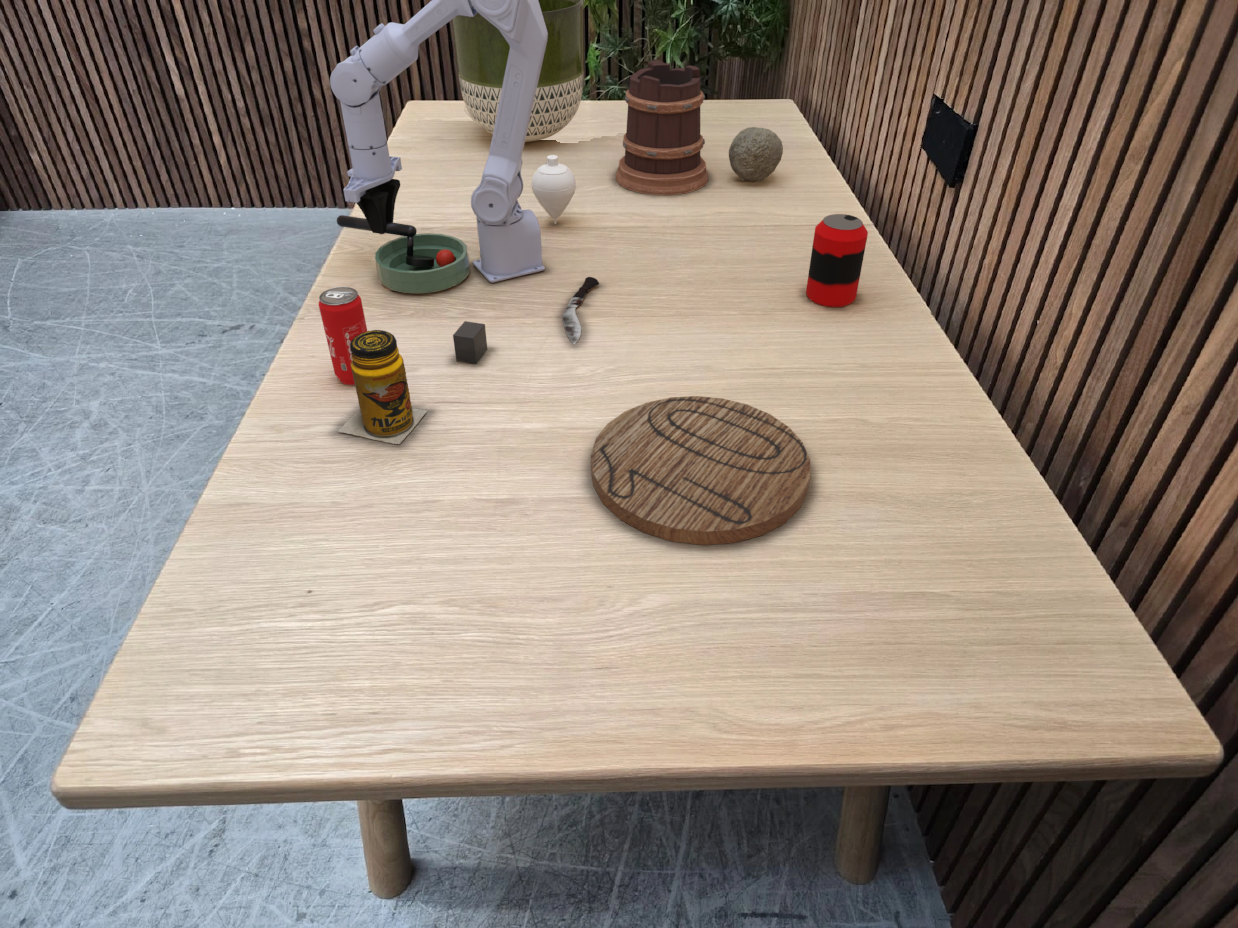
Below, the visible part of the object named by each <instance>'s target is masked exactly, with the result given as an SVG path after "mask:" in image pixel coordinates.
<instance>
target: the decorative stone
mask: <svg viewBox="0 0 1238 928" xmlns="http://www.w3.org/2000/svg"><path fill="white" fill-rule="evenodd" d="M783 154H784V146H783V141H782V140H781V138H780V137H779V136H778V134H777V133H775V132H774V131H772V130H771V129H769V128H764V127H756V126H750V127H749V126H748V127H746V128H743V129H741V131H739V132H738V134H736V136H735V137H734V138H733V140H732V141H731V144H730V145H729V148H728V160H729V164H730V168H731V169H732V171H733V172H734V173H735V175H736V176H738V177H739V178H740V179H741V180H742V181H744V182H746V181H747V182H750V183H756V182H761V181H765V179H767V178H768V177H769V176H770V175H772V174H773V173H774V172H775V171H776V169H777V167H778V165H779V164H780V162H781V160H782V157H783Z"/></svg>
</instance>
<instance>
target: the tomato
mask: <svg viewBox="0 0 1238 928" xmlns="http://www.w3.org/2000/svg"><path fill="white" fill-rule="evenodd" d="M454 261H455V256H454V254H453V253H452V252H451V251H449V250H446V249H444V250H441V251H439V252H438V253H437V255H436V262H437V264H438V265H439V266H440V267H443V266H446V265H448V264H451V263H453V262H454Z"/></svg>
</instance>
